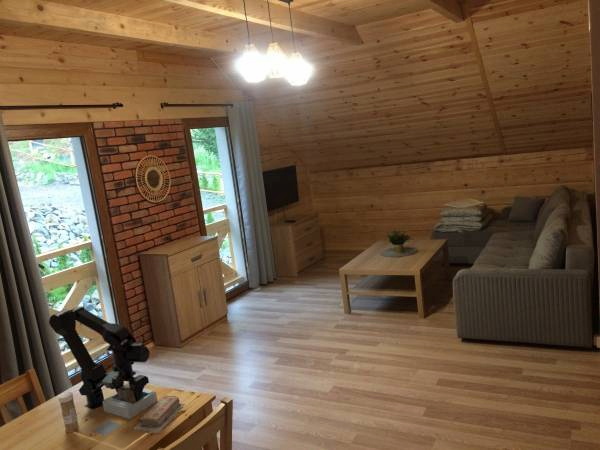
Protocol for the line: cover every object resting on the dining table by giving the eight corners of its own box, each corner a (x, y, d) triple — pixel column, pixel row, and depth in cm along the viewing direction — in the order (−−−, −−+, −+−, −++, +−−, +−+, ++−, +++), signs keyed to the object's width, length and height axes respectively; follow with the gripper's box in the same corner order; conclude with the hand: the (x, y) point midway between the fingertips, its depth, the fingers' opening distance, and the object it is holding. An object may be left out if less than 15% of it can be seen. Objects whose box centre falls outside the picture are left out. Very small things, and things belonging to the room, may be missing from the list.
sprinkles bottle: (62, 432, 184) (55, 397, 182) (72, 425, 188) (65, 390, 186) (72, 433, 182) (65, 398, 180) (82, 426, 186) (75, 391, 184)
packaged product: (160, 393, 195) (183, 394, 192) (162, 405, 196) (185, 406, 193) (131, 419, 179) (156, 421, 175) (133, 432, 179) (159, 434, 176)
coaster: (92, 432, 182) (91, 431, 181) (108, 422, 187) (108, 420, 187) (104, 437, 178) (104, 435, 178) (121, 426, 183) (121, 424, 183)
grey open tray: (104, 412, 195) (102, 400, 194) (132, 395, 205) (130, 384, 205) (129, 420, 187) (127, 407, 186) (157, 402, 198) (155, 390, 197)
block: (121, 409, 195) (117, 389, 193) (133, 401, 200) (130, 381, 198) (128, 411, 193) (124, 391, 191) (141, 403, 197) (137, 383, 196)
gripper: (88, 366, 191) (95, 405, 194) (121, 374, 181) (129, 415, 184) (113, 354, 201) (120, 391, 203) (146, 361, 190) (153, 400, 193)
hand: (129, 399), depth 196 cm, fingers open, 9 cm apart
